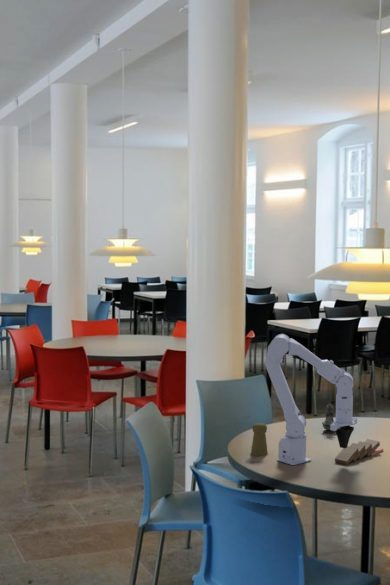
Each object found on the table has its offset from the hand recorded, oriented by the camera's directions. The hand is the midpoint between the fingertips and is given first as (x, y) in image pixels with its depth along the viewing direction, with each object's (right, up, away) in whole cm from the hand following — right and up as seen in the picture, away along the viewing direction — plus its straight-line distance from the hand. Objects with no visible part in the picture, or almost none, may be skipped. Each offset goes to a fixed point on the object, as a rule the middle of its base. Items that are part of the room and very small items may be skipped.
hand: (343, 447), depth 283 cm
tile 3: (+5, -5, +6) cm, 9 cm away
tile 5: (+10, -5, +12) cm, 17 cm away
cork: (-28, -5, +12) cm, 31 cm away
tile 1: (-1, -5, 0) cm, 5 cm away
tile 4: (+9, -4, +10) cm, 14 cm away
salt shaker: (+2, -2, +44) cm, 45 cm away
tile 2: (+2, -5, +3) cm, 6 cm away
